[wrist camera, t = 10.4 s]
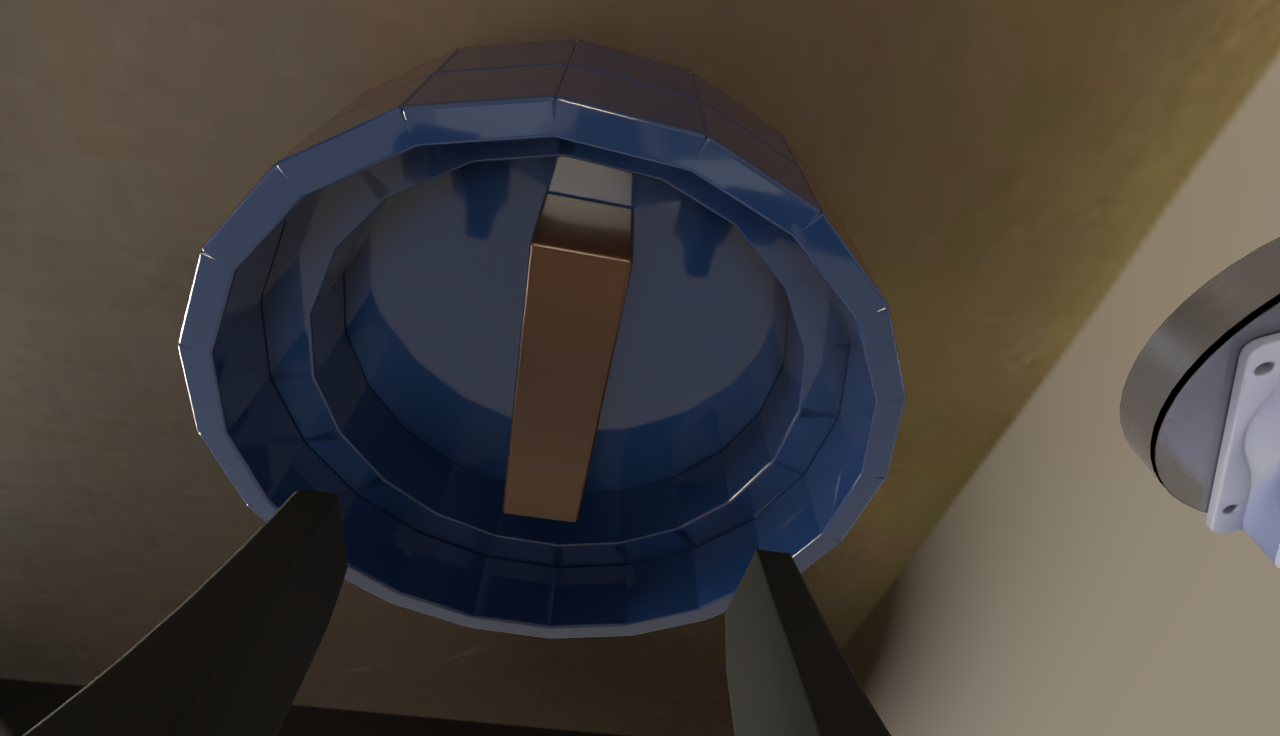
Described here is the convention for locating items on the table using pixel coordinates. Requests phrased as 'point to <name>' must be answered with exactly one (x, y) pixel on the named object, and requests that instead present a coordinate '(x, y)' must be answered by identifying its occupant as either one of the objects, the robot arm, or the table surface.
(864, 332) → the bowl
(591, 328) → the brown rectangular bar
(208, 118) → the table surface
